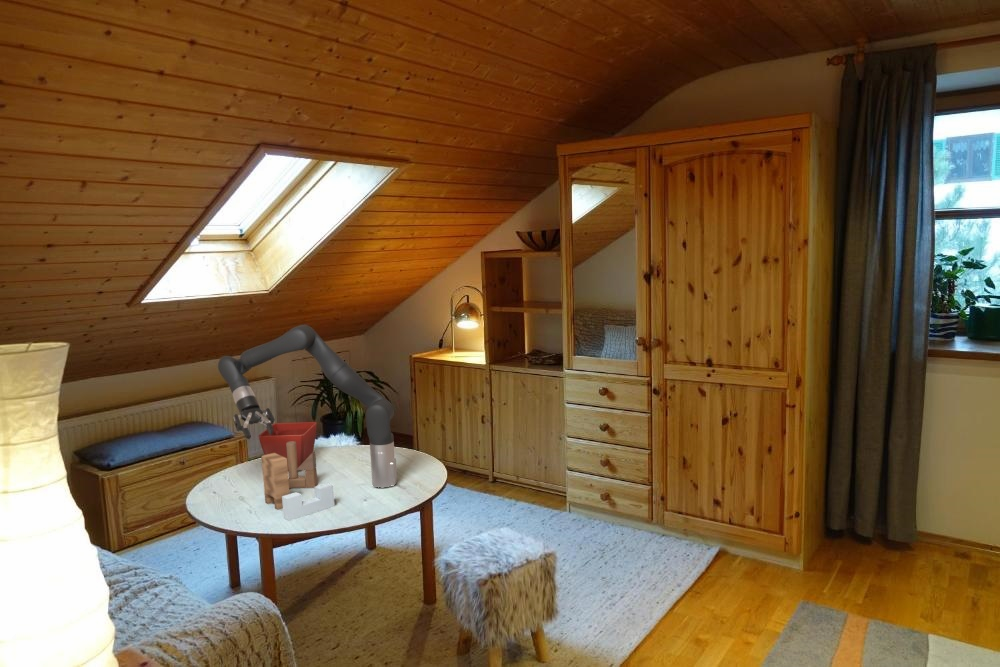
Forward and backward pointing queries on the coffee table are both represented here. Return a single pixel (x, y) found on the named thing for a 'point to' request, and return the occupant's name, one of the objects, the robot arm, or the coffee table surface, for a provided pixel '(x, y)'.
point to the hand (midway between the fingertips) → (260, 435)
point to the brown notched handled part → (307, 465)
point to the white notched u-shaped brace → (308, 502)
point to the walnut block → (275, 479)
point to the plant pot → (290, 439)
